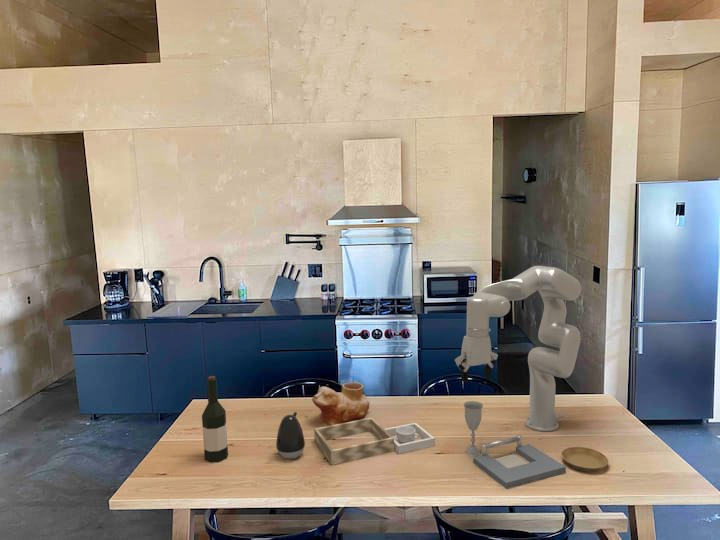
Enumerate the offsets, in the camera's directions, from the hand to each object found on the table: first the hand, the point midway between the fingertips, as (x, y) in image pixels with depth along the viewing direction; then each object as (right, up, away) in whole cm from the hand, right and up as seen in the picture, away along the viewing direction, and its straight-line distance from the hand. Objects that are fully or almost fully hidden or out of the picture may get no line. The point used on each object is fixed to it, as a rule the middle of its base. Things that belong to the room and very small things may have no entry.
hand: (476, 379), depth 185 cm
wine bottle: (-93, -29, +5) cm, 97 cm away
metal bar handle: (+9, -27, +1) cm, 29 cm away
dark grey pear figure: (-66, -29, +5) cm, 72 cm away
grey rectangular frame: (+13, -28, -7) cm, 32 cm away
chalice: (0, -27, +4) cm, 28 cm away
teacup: (-24, -27, +14) cm, 38 cm away
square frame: (-23, -26, +14) cm, 37 cm away
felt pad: (+11, -28, -4) cm, 30 cm away
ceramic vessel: (-49, -24, +37) cm, 66 cm away
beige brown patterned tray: (-43, -27, +11) cm, 52 cm away
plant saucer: (+36, -28, -5) cm, 46 cm away
